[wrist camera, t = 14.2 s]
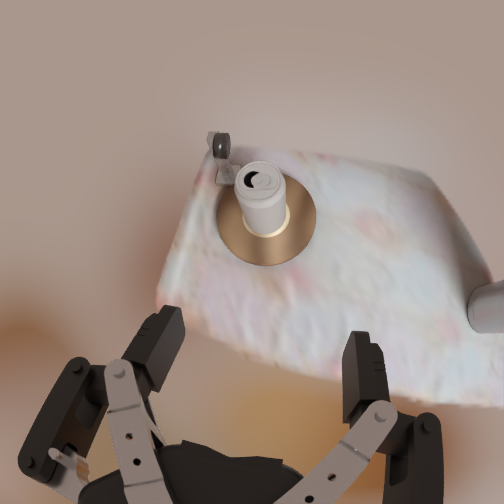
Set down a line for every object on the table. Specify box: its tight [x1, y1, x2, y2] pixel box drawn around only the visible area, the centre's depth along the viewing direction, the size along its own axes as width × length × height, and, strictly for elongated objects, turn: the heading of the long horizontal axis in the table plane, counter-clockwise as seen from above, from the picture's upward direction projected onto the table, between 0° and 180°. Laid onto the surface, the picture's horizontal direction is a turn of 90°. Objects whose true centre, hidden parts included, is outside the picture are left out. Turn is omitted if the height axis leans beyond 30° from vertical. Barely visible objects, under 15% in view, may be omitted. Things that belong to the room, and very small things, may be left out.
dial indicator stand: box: [207, 132, 241, 186], centre depth 43 cm, size 4×5×13 cm
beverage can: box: [234, 161, 286, 234], centre depth 38 cm, size 6×6×12 cm
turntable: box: [217, 174, 316, 266], centre depth 44 cm, size 16×16×1 cm
